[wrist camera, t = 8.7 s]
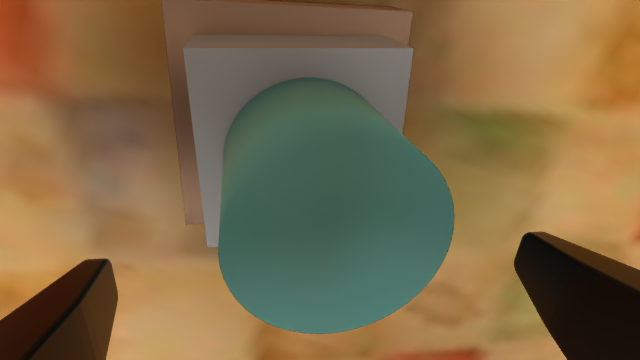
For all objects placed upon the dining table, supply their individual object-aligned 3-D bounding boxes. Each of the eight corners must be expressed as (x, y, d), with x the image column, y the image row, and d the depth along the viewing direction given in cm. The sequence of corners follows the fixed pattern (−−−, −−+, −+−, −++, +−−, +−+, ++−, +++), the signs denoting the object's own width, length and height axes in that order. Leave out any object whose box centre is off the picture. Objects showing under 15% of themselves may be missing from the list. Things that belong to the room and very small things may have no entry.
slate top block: (368, 195, 18) (389, 232, 16) (212, 205, 17) (207, 247, 15) (383, 35, 15) (413, 48, 13) (193, 34, 14) (182, 48, 11)
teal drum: (373, 225, 15) (429, 323, 11) (226, 231, 14) (222, 344, 10) (396, 80, 13) (479, 132, 9) (220, 74, 12) (212, 131, 7)
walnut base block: (365, 185, 22) (382, 215, 19) (193, 191, 20) (186, 224, 17) (387, 5, 18) (413, 11, 15) (173, -6, 16) (160, -2, 13)
